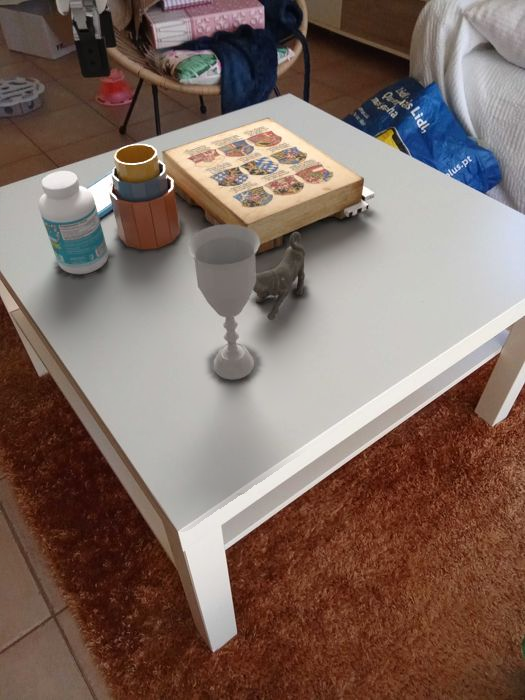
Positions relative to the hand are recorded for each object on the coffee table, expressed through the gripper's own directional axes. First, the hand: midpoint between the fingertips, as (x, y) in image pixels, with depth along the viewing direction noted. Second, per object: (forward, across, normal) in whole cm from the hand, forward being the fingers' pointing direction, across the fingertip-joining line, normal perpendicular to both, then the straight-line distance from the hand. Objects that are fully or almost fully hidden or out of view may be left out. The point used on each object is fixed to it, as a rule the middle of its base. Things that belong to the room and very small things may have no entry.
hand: (100, 61), depth 68 cm
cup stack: (+27, -4, +2) cm, 27 cm away
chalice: (+27, +26, +13) cm, 40 cm away
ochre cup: (+26, -4, +2) cm, 26 cm away
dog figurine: (+27, +15, +20) cm, 36 cm away
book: (+26, -10, +22) cm, 36 cm away
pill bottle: (+27, +3, -8) cm, 28 cm away
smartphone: (+27, -15, -6) cm, 31 cm away
